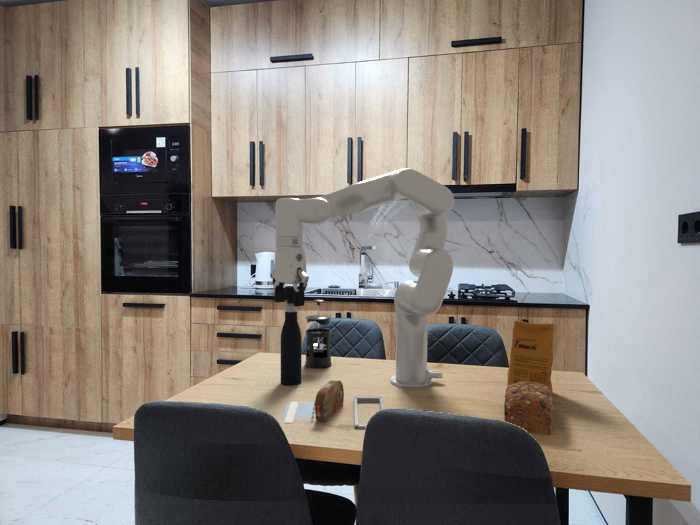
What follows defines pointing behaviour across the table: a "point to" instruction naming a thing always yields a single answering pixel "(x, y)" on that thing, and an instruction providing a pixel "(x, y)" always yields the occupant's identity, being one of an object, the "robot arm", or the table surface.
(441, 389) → the table surface
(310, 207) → the robot arm
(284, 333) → the black water bottle
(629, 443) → the table surface
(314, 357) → the french press
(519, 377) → the coffee package
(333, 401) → the tin
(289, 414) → the ticket board
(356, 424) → the tray
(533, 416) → the bread
